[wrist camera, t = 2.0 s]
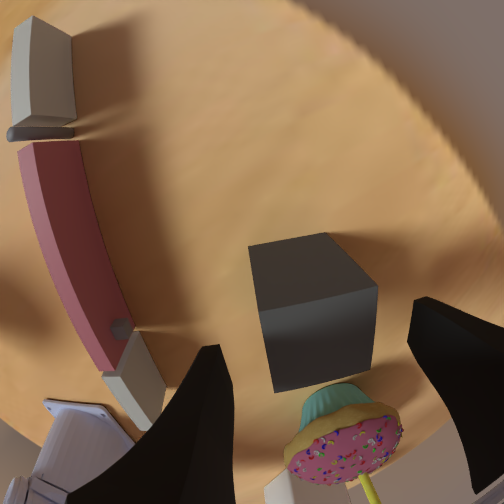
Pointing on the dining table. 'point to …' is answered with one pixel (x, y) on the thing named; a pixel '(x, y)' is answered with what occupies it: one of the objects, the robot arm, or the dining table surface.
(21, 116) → the wall frame
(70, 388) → the dining table surface
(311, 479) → the cupcake
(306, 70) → the dining table surface
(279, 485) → the medicine bottle
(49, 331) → the dining table surface
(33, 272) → the dining table surface
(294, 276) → the dark grey block
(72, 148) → the door
